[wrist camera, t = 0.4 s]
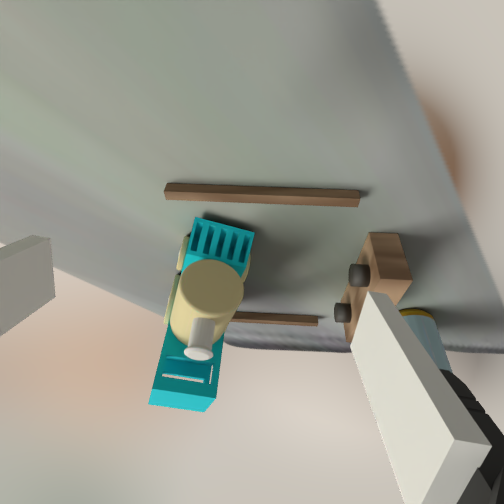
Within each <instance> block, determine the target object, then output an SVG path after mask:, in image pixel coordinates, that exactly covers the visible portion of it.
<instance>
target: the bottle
mask: <svg viewBox="0 0 504 504" xmlns="http://www.w3.org/2000/svg"><path fill="white" fill-rule="evenodd" d="M399 312H400V314H401V315H402V317H403V318H404V320H405V321H406V322H407V324H408V325H409V327H410V328H411V330H412V331H413V333H414V334H415V335H416V337H417V338H418V340H419V341H420V343H421V344H422V346H423V347H424V348H425V350H426V351H427V353H428V354H429V356H430V357H431V359H432V360H433V361H434V363H435V364H436V366H437V367H438V369H443V370H449V371H450V372H451V373H452V370H451V367H450V364H449V361H448V358H447V355H446V352H445V349H444V346H443V344H442V341H441V338H440V335H439V332H438V329H437V326H436V323H435V321H434V318H433V316H432V315H430V314H428V313H427V312H425V311H423V310H419V309H404V310H400V311H399Z"/></svg>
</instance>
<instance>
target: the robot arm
mask: <svg viewBox="0 0 504 504" xmlns="http://www.w3.org/2000/svg"><path fill="white" fill-rule="evenodd" d="M53 298H55V287H54V275H53V263H52V252H51V240H50V238H46V237H40V236H34V235H32V236H29V237H27V238H24V239H22V240H19V241H17V242H14V243H12V244H9V245H7V246H4V247H2V248H0V336H1V335H3V334H4V333H6V332H7V331H8V330H10V329H11V328H13V327H14V326H16V325H17V324H18V323H20V322H21V321H22V320H24V319H25V318H27V317H28V316H29V315H31V314H32V313H34V312H35V311H36V310H38V309H39V308H41V307H42V306H43V305H45V304H46V303H48V302H49V301H50V300H52V299H53ZM350 347H351V350H352V353H353V356H354V359H355V362H356V365H357V368H358V371H359V373H360V376H361V379H362V382H363V385H364V388H365V391H366V394H367V397H368V400H369V403H370V405H371V408H372V411H373V414H374V417H375V420H376V423H377V426H378V429H379V432H380V434H381V437H382V440H383V443H384V446H385V449H386V452H387V455H388V457H389V461H390V464H391V466H392V469H393V472H394V475H395V478H396V481H397V484H398V487H399V490H400V493H401V496H402V498H403V501H404V504H504V435H503V434H502V432H501V431H500V430H499V428H498V427H497V426H496V424H495V423H494V422H493V420H492V419H491V418H490V416H489V415H488V414H485V410H484V408H483V407H482V406H481V405H480V403H479V402H478V401H476V398H475V397H474V395H473V394H472V393H471V391H470V390H469V389H468V387H467V386H466V385H465V384H464V383H463V382H462V381H461V380H460V379H459V378H457V377H456V376H455V375H454V374H453V373H451V372H450V371H449V370H443V369H438V367H437V366H436V364H435V363H434V361H433V360H432V359H431V357H430V356H429V354H428V353H427V351H426V350H425V348H424V347H423V346H422V344H421V343H420V341H419V340H418V338H417V337H416V335H415V334H414V333H413V331H412V330H411V328H410V327H409V325H408V324H407V322H406V321H405V320H404V318H403V317H402V315H401V314H400V312H399V311H398V309H397V308H396V307H395V305H394V304H393V302H392V301H391V299H390V298H389V296H388V295H387V294H384V293H378V292H372V291H368V292H367V295H366V298H365V301H364V304H363V308H362V311H361V314H360V317H359V321H358V324H357V327H356V330H355V334H354V337H353V340H352V343H351V346H350Z"/></svg>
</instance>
